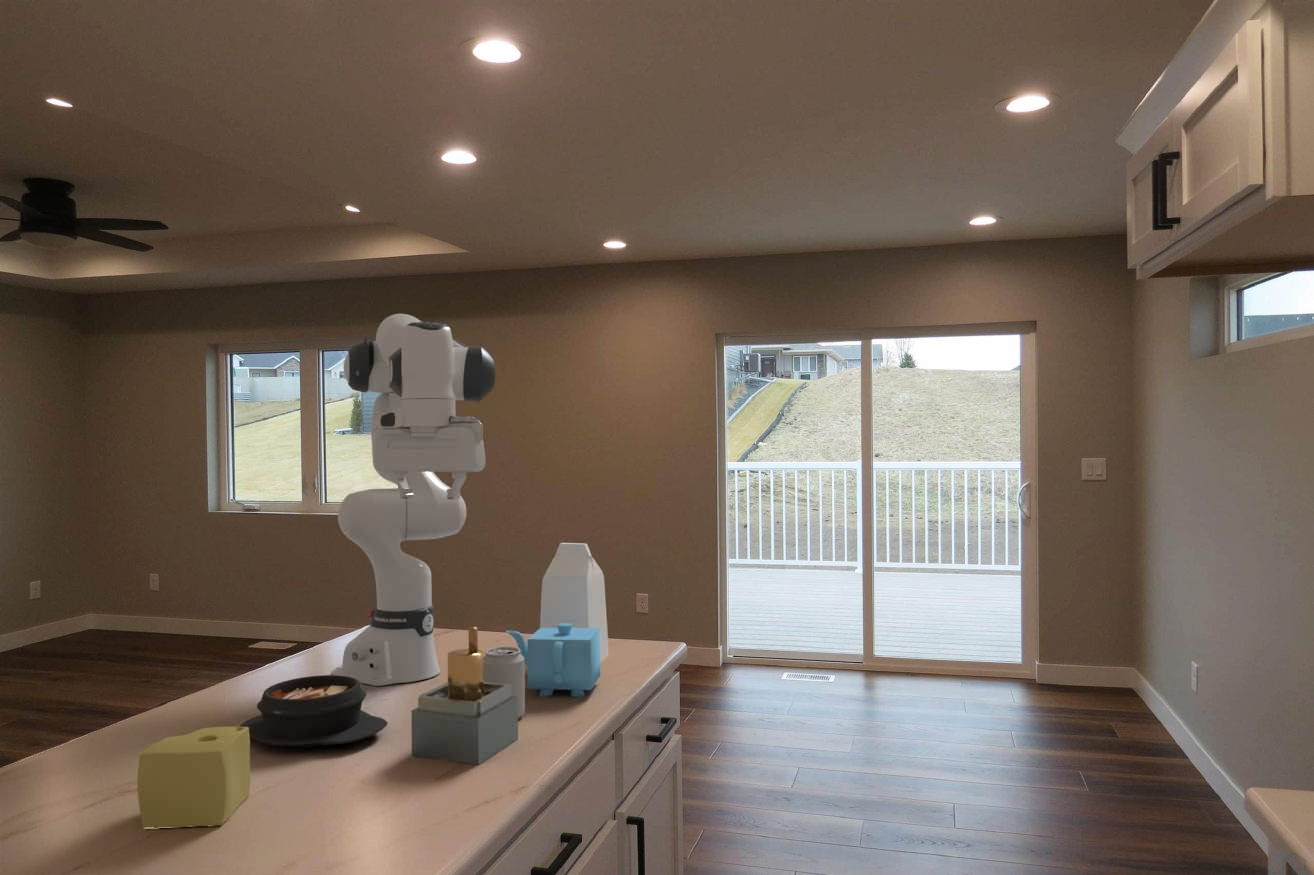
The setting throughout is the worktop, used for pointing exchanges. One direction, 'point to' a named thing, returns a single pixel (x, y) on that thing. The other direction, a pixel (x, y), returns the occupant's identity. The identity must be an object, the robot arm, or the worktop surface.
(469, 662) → the spout can
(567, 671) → the teapot
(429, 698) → the grey square box
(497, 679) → the can
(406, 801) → the worktop surface
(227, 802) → the cheese
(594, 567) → the milk
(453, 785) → the worktop surface
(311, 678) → the casserole
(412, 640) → the robot arm
